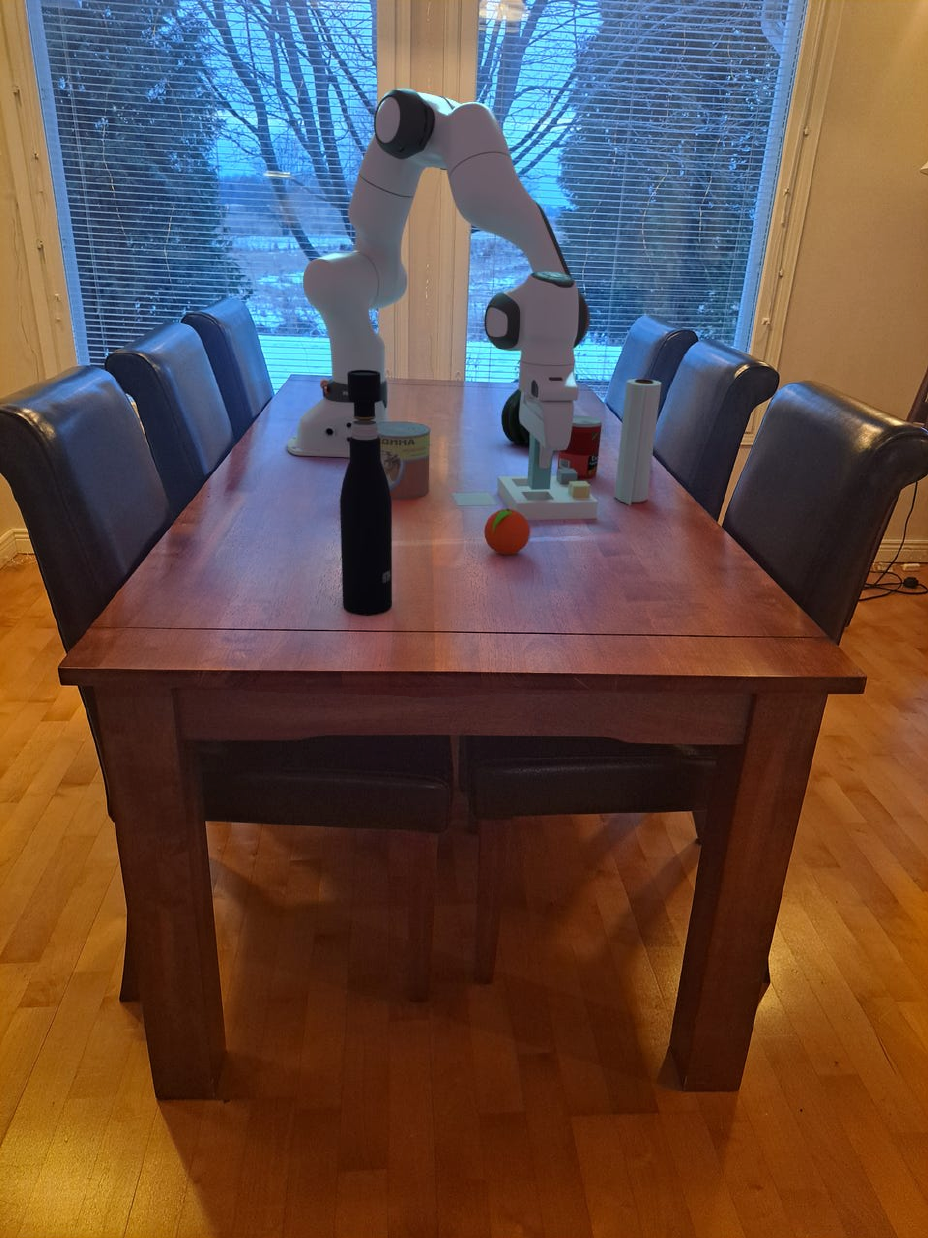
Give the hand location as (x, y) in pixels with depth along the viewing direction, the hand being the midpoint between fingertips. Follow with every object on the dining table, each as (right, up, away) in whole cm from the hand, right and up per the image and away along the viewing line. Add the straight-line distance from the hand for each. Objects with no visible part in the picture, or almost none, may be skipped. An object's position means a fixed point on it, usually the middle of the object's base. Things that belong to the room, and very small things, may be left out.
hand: (539, 463), depth 148 cm
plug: (0, -4, +2) cm, 4 cm away
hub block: (+2, -6, +8) cm, 10 cm away
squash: (+3, +13, +50) cm, 52 cm away
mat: (-11, -5, +9) cm, 15 cm away
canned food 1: (-25, -3, +13) cm, 28 cm away
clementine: (-7, -17, -14) cm, 22 cm away
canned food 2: (+10, +3, +29) cm, 30 cm away
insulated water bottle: (-26, -25, -32) cm, 48 cm away
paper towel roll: (+18, -4, +14) cm, 23 cm away
